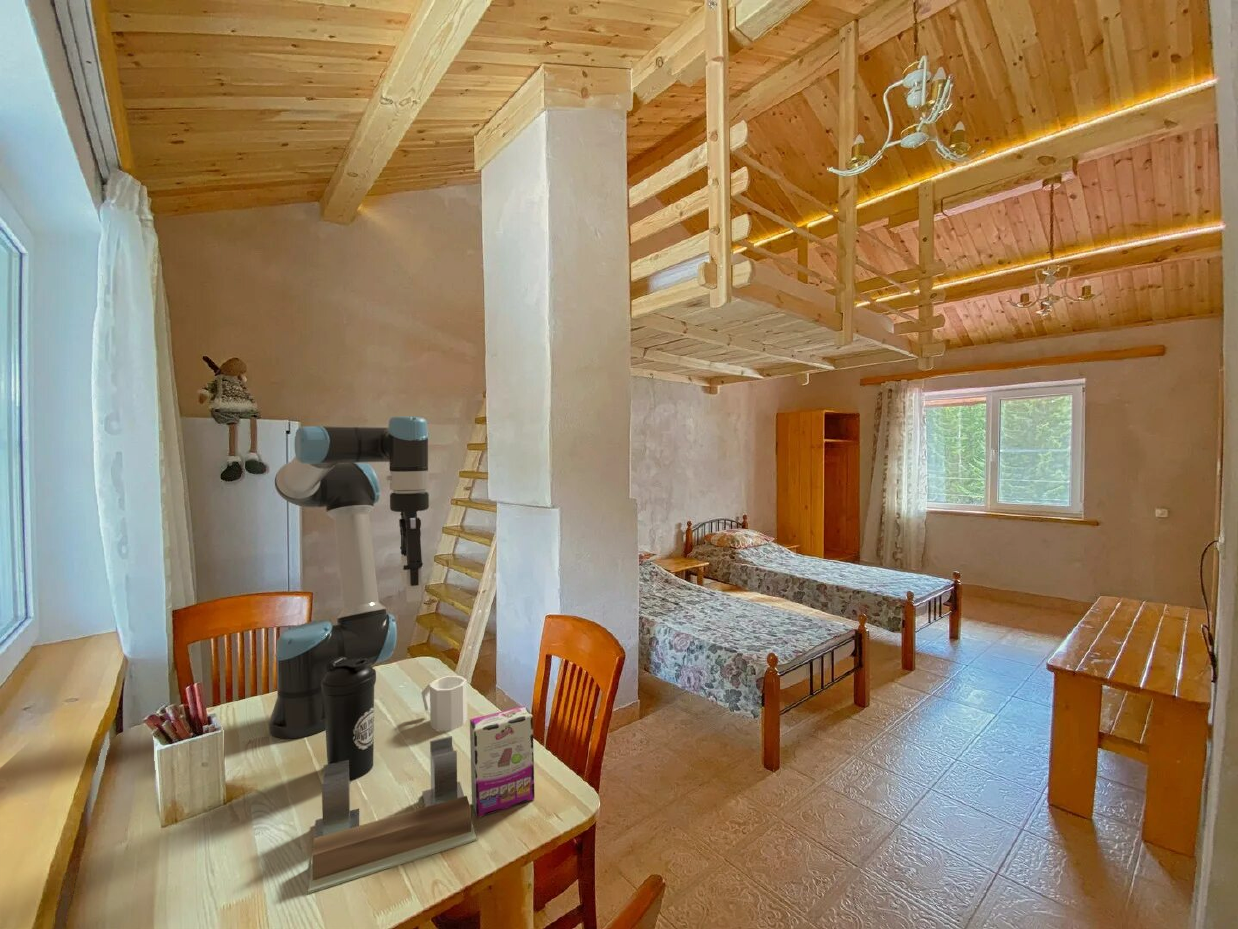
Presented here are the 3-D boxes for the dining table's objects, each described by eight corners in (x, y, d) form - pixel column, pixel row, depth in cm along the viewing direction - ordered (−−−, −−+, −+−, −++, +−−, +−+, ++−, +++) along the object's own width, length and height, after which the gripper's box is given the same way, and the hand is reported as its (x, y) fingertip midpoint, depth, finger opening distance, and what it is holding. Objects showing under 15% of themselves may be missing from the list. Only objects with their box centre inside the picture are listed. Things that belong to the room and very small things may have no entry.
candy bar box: (527, 785, 107) (526, 704, 106) (535, 800, 103) (534, 715, 102) (469, 803, 102) (468, 717, 101) (475, 819, 97) (474, 730, 97)
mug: (473, 717, 134) (473, 678, 133) (450, 734, 126) (450, 693, 125) (435, 708, 138) (434, 671, 138) (410, 725, 130) (410, 685, 130)
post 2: (422, 795, 104) (421, 741, 104) (459, 785, 107) (459, 733, 107) (426, 818, 98) (425, 760, 97) (466, 806, 101) (465, 751, 100)
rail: (314, 862, 87) (314, 838, 87) (466, 817, 97) (466, 795, 97) (312, 880, 83) (312, 855, 83) (471, 831, 94) (470, 809, 93)
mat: (312, 857, 88) (312, 855, 88) (467, 811, 99) (467, 809, 99) (308, 893, 81) (308, 891, 81) (476, 840, 92) (476, 838, 92)
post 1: (315, 824, 96) (314, 766, 96) (359, 812, 99) (358, 756, 99) (312, 851, 90) (311, 789, 89) (359, 837, 93) (358, 777, 92)
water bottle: (356, 787, 106) (353, 672, 106) (311, 781, 108) (308, 668, 108) (388, 758, 116) (386, 653, 115) (346, 752, 118) (344, 649, 118)
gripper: (386, 487, 121) (388, 581, 122) (393, 497, 99) (395, 611, 100) (422, 486, 125) (423, 577, 126) (436, 495, 102) (437, 606, 103)
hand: (411, 592), depth 113 cm, fingers open, 13 cm apart
